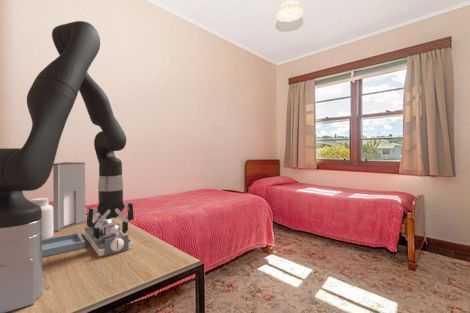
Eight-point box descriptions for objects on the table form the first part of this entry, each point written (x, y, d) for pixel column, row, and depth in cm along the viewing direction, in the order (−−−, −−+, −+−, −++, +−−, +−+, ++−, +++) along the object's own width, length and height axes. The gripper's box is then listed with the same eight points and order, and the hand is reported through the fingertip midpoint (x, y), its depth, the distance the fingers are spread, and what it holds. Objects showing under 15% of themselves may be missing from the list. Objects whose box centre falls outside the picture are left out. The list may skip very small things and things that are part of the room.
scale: (133, 249, 80) (133, 234, 80) (100, 257, 74) (100, 241, 74) (110, 228, 102) (110, 217, 102) (82, 233, 96) (82, 221, 96)
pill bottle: (22, 239, 89) (21, 199, 89) (47, 233, 96) (46, 196, 96) (32, 243, 86) (32, 201, 85) (57, 236, 93) (57, 197, 93)
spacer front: (121, 239, 82) (121, 225, 82) (105, 243, 79) (105, 228, 79) (117, 236, 86) (117, 222, 86) (101, 239, 83) (101, 224, 83)
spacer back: (107, 227, 96) (107, 215, 96) (93, 230, 93) (93, 217, 93) (104, 224, 100) (104, 212, 100) (90, 227, 96) (90, 214, 96)
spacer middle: (114, 233, 89) (113, 219, 89) (98, 236, 86) (98, 222, 86) (110, 230, 93) (110, 217, 93) (95, 232, 90) (95, 219, 90)
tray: (85, 247, 82) (85, 241, 82) (39, 257, 74) (39, 250, 74) (79, 238, 91) (79, 232, 91) (38, 246, 83) (38, 240, 83)
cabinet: (65, 219, 117) (64, 162, 117) (88, 217, 121) (87, 161, 121) (53, 232, 98) (53, 163, 98) (81, 229, 102) (81, 163, 102)
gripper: (89, 192, 75) (89, 243, 75) (135, 187, 84) (136, 233, 85) (84, 189, 81) (85, 237, 81) (128, 185, 90) (129, 228, 90)
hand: (111, 235), depth 83 cm, fingers open, 8 cm apart
